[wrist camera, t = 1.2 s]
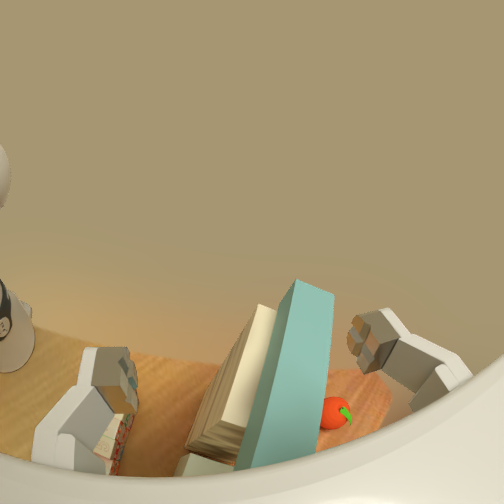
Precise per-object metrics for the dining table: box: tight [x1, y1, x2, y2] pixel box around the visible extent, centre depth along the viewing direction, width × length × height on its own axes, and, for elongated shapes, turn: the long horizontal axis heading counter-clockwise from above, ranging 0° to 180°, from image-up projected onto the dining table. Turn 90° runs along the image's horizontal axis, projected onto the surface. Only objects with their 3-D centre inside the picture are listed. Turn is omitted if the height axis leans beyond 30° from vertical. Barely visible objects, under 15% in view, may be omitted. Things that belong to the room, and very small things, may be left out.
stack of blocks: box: [93, 389, 139, 476], centre depth 29 cm, size 21×6×12 cm, turn 171°
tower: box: [184, 304, 278, 463], centre depth 33 cm, size 8×12×30 cm, turn 164°
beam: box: [233, 279, 334, 471], centre depth 19 cm, size 4×22×4 cm, turn 164°
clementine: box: [320, 397, 352, 429], centre depth 47 cm, size 8×7×7 cm
